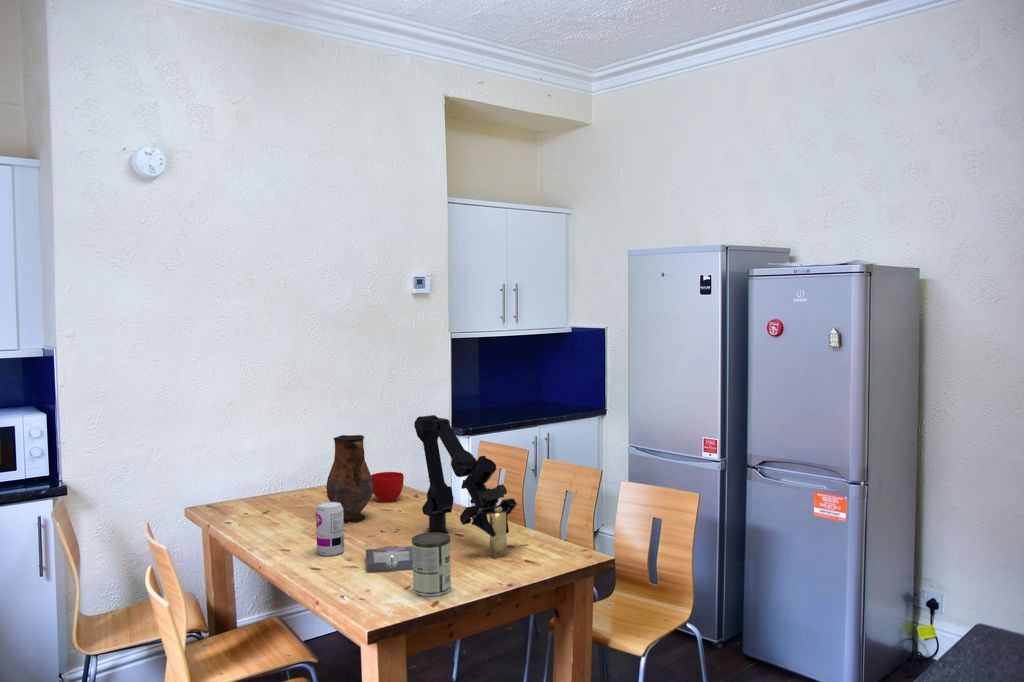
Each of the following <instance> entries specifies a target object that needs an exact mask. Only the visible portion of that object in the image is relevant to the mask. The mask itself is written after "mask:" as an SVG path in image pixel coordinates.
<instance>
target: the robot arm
mask: <svg viewBox="0 0 1024 682" xmlns="http://www.w3.org/2000/svg"><path fill="white" fill-rule="evenodd" d="M413 425H414V426H413V427H414V429H415V433H416V436H417V437H418V439H420V441H421V442H422V445H423V451H424V457H425V462H426V467H427V468H426V469H427V474H428V481H429V488H428V490H427V492H426V499H427V500H426V501H425V503H424V504H423V506H422V509H421V510H422V514H423V515H425V516H427V517H428V527H427V528H426V530H427V533H429V532H438V533H445V534H448V533H449V530H448V528H447V516H446V515H447V514H448V513H452V510H453V506H454V498H455V497H454V495H453V489H452V486H448V484H447V483H446V482H445V477H444V471H443V465H442V459H441V453H440V448H439V442H438V441H439V439H440V442H441V443H442V444H443V446H444V448H445V449H446V452H447V453H448V454H449V457H450V465H451V469H452V471H453V473H454V475H455V476H456V477H457V478H464V477H466V478H465V479H463V480H462V484H461V490H464V489H466V491H467V492H468V494H469V496H470V501H469V503H470V504H471V505H472V506H467V507H465V508H464V510H463V512H461V514H460V516H459V520H460V522H461V525H467V524H468V525H469V524H470V523H471V525H472V526H475V527H477V528H478V529H480V530H482V531H484V532H485V533H487V534H488V535H489V537H490V536H492V537H494V536H495V534H494V531H493V529H492V527H491V525H490V520H489V519H488V515H490V512H491V511H494V507H496V506H500V507H502V511H505V512H506V534H508V533H509V522H508V515H510V514H511V513H512V512H513V510H515V508H516V506H517V505H518V503H517V502H516V500H515V498H512V497H510V498H505V499H502V501H501V502H500V503H499V499H501V498H504V497H505V495H507V494H508V490H507V487H506V486H505V485H504V484H499V485H497V486H496V487H493V488H491V487H489V488H487V486H486V483H488V482H490V481H489V480H490V479H491V478H492V476H493V475H494V474H495V472H496V470H497V465H496V462H494V461H493V460H492V459H490V458H487V457H486V455H480V456H479V457H478V459H476V458H475V456H474V455H473V454H472V452H469V451H467V450H465V448H464V447H463V445H462V443H461V442H460V440H459V438H458V437H457V435H456V433H455V431H454V430H453V428H452V426H451V422H450V420H449V419H448V418H445V417H438V416H437V415H435V414H434V415H433V414H431V415H422V416H418V417H417V418H416V420H414V424H413ZM497 503H499V504H498V505H497Z"/></svg>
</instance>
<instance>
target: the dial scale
mask: <svg viewBox="0 0 1024 682" xmlns="http://www.w3.org/2000/svg"><path fill="white" fill-rule="evenodd" d="M365 562H366V563H365V564H366V573H381V572H392V571H393V572H394V571H404V570H405V571H406V570H413V554H412V546H411V545H409V546H398V545H397V546H396V545H388V546H381V547H378V548H371V549H369V548H367V549H365Z"/></svg>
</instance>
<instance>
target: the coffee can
mask: <svg viewBox="0 0 1024 682" xmlns="http://www.w3.org/2000/svg"><path fill="white" fill-rule="evenodd" d="M411 545H412V554H413V569H412V582H413V583H412V585H413V587H412V592H413V593H414V594H416V595H417V596H420V597H437V596H443V595H446V594H448V593H450V591H452V580H451V579H452V578H451V577H452V576H451V573H452V570H451V569H452V568H451V565H452V564H451V535H450V534H448V533H438V532H429V533H428V532H422V533H418V534H416V535H413V536H412V537H411Z"/></svg>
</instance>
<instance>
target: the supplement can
mask: <svg viewBox="0 0 1024 682" xmlns="http://www.w3.org/2000/svg"><path fill="white" fill-rule="evenodd" d="M315 511H316V512H315V514H316V515H315V516H316V517H315V518H316V521H315V523H316V524H315V525H316V552H317V554H319V555H320V556H322V555H323V557H333V556H332V555H334V556H337V554H338V555H341V554H342V553H343V552H344V550H345V535H344V534H345V528H344V527H345V523H344V519H343V507H342V505H341V503H339V502H330V501H326V502H322V503H319V504H318V505H317V507H316V510H315ZM340 553H341V554H340Z"/></svg>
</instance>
